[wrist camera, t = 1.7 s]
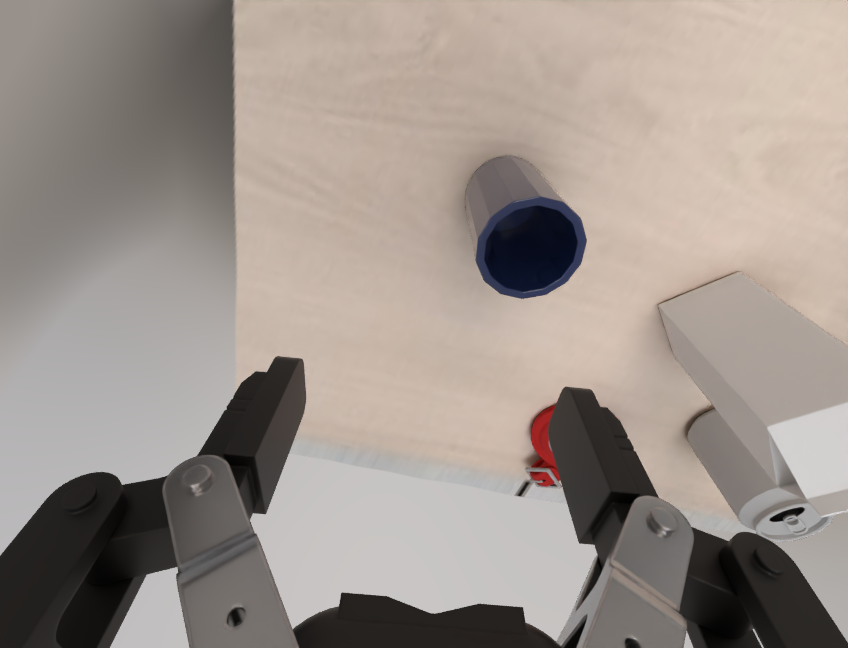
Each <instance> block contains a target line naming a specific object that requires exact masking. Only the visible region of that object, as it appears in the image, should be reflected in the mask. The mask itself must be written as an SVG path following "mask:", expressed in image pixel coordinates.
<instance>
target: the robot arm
mask: <svg viewBox="0 0 848 648" xmlns="http://www.w3.org/2000/svg"><path fill="white" fill-rule="evenodd" d="M305 404H306V388H305V374H304V362H303V360H302V359H299V358H290V357H280V356H277V357H275V359H274V360H273V362H272V364H271V366H270V368H269V369H268V371H267V372H257V371H256V372H255V373H253V374H252V375H251V376H250V377H248V378H247V379H246V380H244V381H243V382H242V383H241V385H240V386H239V388H238V390H237V391H236V393H235V395H234V398H233V399H232V400H231V401H230V403H229V405H228V406H227V410H225V411H224V413H223V414H222V416H221V418H220V419H219V421H218V423H217V424H216V426H215V428H214V429H213V431H212V433H211V434H210V436H209V438H208V439H207V441H206V442H205V444H204V446H203V447H202V449H201V451H200V452H199V454H198V455H197V456H196V457H193V458H191V459H188V460H186V461H184V462H183V463H181V464H180V465H178V466H177V467H176V468H174V469H173V470H172V471H171V472H170V474H169V475H168V476H165V477H162V478H158V479H153V480H147V481H142V482H136V483H131V484H125V485H122V484H121V482H120V480H119V479H118V478H117V477H116V476H115V475H113V474H110V473H105V472H96V473H89V474H86V475H83V476H80V477H78V478H75V479H73V480H71V481H69V482H67V483H65V484H63V485H62V486H61V487H59V488H58V489H57V490H55V491H54V492H53V493H52V494H51V495H50V496H49V497H48V498H47V499H46V501H45V502H44V503H43V504H42V505H41V507H40V508H39V509H38V510H37V511H36V513H35V514H34V515H33V516H32V518H31V519H30V520H29V521H28V523H27V524H26V525H25V526H24V527H23V529H22V530H21V531H20V532H19V534H18V535H17V536H16V537H15V539H14V540H13V541H12V542H11V543H10V545H9V546H8V547H7V548H6V549H5V551H4V552H3V553H2V555H1V556H0V648H110V646H111V644H112V642H113V640H114V638H115V636H116V634H117V632H118V630H119V628H120V626H121V624H122V622H123V620H124V618H125V616H126V614H127V612H128V610H129V608H130V606H131V604H132V602H133V600H134V598H135V596H136V595H137V593H138V591H139V588H140V586H141V584H142V583H143V581H144V578H145V577H146V575H147V574H150V573H154V572H158V571H162V570H166V569H170V568H174V567H178V574H177V576H176V579H177V586H178V592H179V597H180V602H181V606H182V612H183V617H184V622H185V627H186V632H187V637H188V642H189V647H190V648H683V647H684V641H685V636H686V631H687V632H688V634H689V637H690V640H691V642H692V645H693V647H694V648H762V647H761V645H760V643H759V642H758V640H757V638H756V636H755V634H754V632H753V630H752V629H755V631H756V633H757V635H758V637H759V639H760V641H761V643H762V645H763V647H764V648H848V643H847V641H846V640H845V638H844V637H843V635H842V634H841V632H840V631H839V629H838V627H837V626H836V624H835V623H834V621H833V620H832V618H831V617H830V615H829V614H828V612H827V611H826V609H825V608H824V606H823V605H822V603H821V602H820V600H819V599H818V597H817V596H816V594H815V592H814V591H813V589H812V588H811V587H810V585H809V583H808V582H807V580H806V579H805V577H804V576H803V574H802V573H801V571H800V570H799V568H798V567H797V565H796V564H795V563H794V561H793V560H792V559H791V558H790V557H789V556H788V555H787V554H786V553H785V552H784V551H783V550H782V549H781V548H779V547H778V546H777V545H775V544H774V543H773V542H771V541H769V540H768V539H766V538H764V537H762V536H760V535H757V534H754V533H749V532H740V533H738V534H736V535H735V536H734V537H733V538H732V539H731V540H730V541H726V540H724V539H721V538H719V537H716V536H713V535H711V534H708V533H705V532H703V531H700V530H697V529H695V528H693V527H691V526H690V524H689V522H688V521H687V519H686V518H685V517H684V515H683V514H682V513H681V512H680V511H679V510H678V509H676V508H675V507H674V506H673V505H671V504H670V503H668V502H666V501H664V500H662V499H660V498H659V497H658V495H657V493H656V491H655V489H654V487H653V485H652V483H651V481H650V479H649V477H648V475H647V473H646V471H645V469H644V467H643V465H642V463H641V462H640V460H639V458H638V456H637V454H636V452H635V451H634V450H633V449H634V448H633V446H632V444H631V442H630V440H629V439H628V438H627V437H628V436H627V434H626V432H625V430H624V428H623V426H622V424H621V422H620V421H619V420H618V419H617V418H616V417H615V416H614V415H613V413H612V412H611V411H610V410H609V409H608V408H603V407H600V406H599V404H598V401H597V399H596V397H595V395H594V393H593V391H592V390H590V389H583V388H573V387H565V388H563V390H562V392H561V394H560V397H559V399H558V401H557V404H556V406H555V409H554V411H553V414H552V416H551V419H550V421H549V426H548V438H549V442H550V446H551V449H552V453H553V456H554V460H555V463H556V466H557V470H558V473H559V477H560V480H561V483H562V487H563V490H564V494H565V497H566V500H567V504H568V507H569V511H570V514H571V517H572V521H573V524H574V528H575V531H576V534H577V538H578V541H579V543H582V544H593V545H595V548H596V551H597V556H596V558H595V559H594V561H593V563H592V566H591V568H590V571H589V573H588V575H587V577H586V580H585V582H584V584H583V587H582V589H581V591H580V594H579V596H578V598H577V601H576V603H575V606H574V608H573V610H572V613H571V615H570V617H569V619H568V621H567V623H566V625H565V627H564V629H563V630H562V632H561V634H560V636H559V638H558V640H557V642H556V641H554V640H553V639H552V638H551V637H550V636H548V635H547V634H545V633H544V632H542V631H541V630H539V629H537V628H536V627H534V626H532V625H530V624H527V623H525V618H524V611H523V607H511V606H498V605H487V604H477V605H472V606H468V607H464V608H459V609H455V610H451V611H446V612H442V613H437V614H431V613H428V612H425V611H423V610H420V609H417V608H415V607H413V606H410V605H407V604H405V603H402V602H400V601H397V600H395V599H392V598H390V597H387V596H376V595H364V594H352V593H351V594H350V593H341V599H340V604H339V607H334V608H330V609H327V610H325V611H322V612H319V613H318V614H315V615H314V616H312V617H310V618H308V619H306V620H305V621H303V622H302V623H301V624H299V625H298V626H296V627H295V628H294V629H292V627H291V624H290V622H289V619H288V616H287V613H286V611H285V608H284V605H283V603H282V600H281V597H280V595H279V592H278V589H277V587H276V584H275V581H274V578H273V576H272V573H271V570H270V568H269V565H268V562H267V559H266V557H265V554H264V551H263V549H262V546H261V543H260V541H259V539H258V537H257V535H256V534H255V533H254V531H253V528H252V525H251V522H250V518H251V516H252V514H253V513H259V514H266V512H267V509H268V507H269V504H270V502H271V499H272V496H273V494H274V491H275V488H276V486H277V483H278V480H279V478H280V475H281V472H282V470H283V467H284V465H285V462H286V459H287V457H288V454H289V451H290V449H291V446H292V443H293V441H294V438H295V435H296V433H297V430H298V427H299V425H300V422H301V420H302V417H303V414H304V410H305Z"/></svg>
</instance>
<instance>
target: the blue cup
mask: <svg viewBox="0 0 848 648" xmlns="http://www.w3.org/2000/svg"><path fill="white" fill-rule="evenodd" d="M465 209H466V214H467V219H468V224H469V229H470V234H471V239H472V245H473V250H474V255H475V260H476V263H477V266H478V268H479V270H480V273H481V275H482V277H483V280H484V281H485V282H486V283H487V284H489V285H490V286H491V287H492V288H494V289H495V290H496V291H498V292H499V293H500V294H503V295H508V296H512V297H516V298H521V299H522V298H523V299H524V298H530V297H536V296H542V295H545V294H548V293H550V292H551V291H553V290H555V289H556V288H558V287H560V286H561V285H563V284H565V283H566V282H567V281H568V280H569V278H570V277H571V276H572V275H573V273H574V272H575V271H576V270H577V268H578V267H579V266H580V264H581V262H582V258H583V254H584V250H585V246H586V242H587V239H586V235H585V232H584V228H583V224H582V220H581V218H580V217H579V216H578V215H577V213H576V212H575V211H574V210H573V209H572V208H571V207H570V206H569V205H568V204H567V202H566V201H565V200H564V199H563V198H562V197H561V196H560V195H559V194H558V193H557V191H556V190H555V189H554V188H553V187H552V186H551V185H550V184H549V183H548V182H547V180H546V179H545V178H544V177H543V176H542V175H541V174H540V173H539V172H538V171H537V170H536V169H535V168H534V167H533V166H532V165H531V164H530V163H529V162H528V161H525V160H523V159H521V158H518V157H513V156H502V157H498V158H494V159H492V160H489V161H488V162H486V163H484V164H483V165H482V166H480V167H479V168H478V169H477V170H476V172H475V173H474V174H473V175H472V177H471V179H470V181H469V183H468V185H467V188H466V193H465Z"/></svg>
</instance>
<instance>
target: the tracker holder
mask: <svg viewBox="0 0 848 648" xmlns="http://www.w3.org/2000/svg"><path fill="white" fill-rule="evenodd" d="M555 406H556V405H555ZM555 406H552V407H549V408H547V409H545V410H544V411H542V412H541V413H540V414H539V415H538V416H537V417H536V419H535V421H534V423H533V425H532V430H531V441H532V445H533V447H534V449H535V451H536V452H537V454H538V455H539V456H540V457H541V458H540V459H539V460H538V461H536V462H535V463H534V464H533V465H532V467H531V468H528V467H527V468H526V469H525V470H526V472H527V473H528V475H529V476H530V477H531V479H530V481H531V482H534V483H535V484H536V486H537V487H546V488H561V487H562V486H561V484H560V483H559V480H560V477H559V473H558V470H557V466H556V463H555V460H554V456H553V453H552V449H551V446H550V442H549V438H548V426H549V421H550V419H551V416H552V414H553V411H554V409H555ZM554 483H555V484H554Z"/></svg>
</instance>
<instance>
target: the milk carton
mask: <svg viewBox="0 0 848 648" xmlns="http://www.w3.org/2000/svg"><path fill="white" fill-rule="evenodd" d="M658 307H659V310H660V314H661V317H662V320H663V323H664V326H665V329H666V333H667V336H668V339H669V342H670V345H671V348H672V352H673V355H674V357H675V359H676V360H677V361H678V362H679V364H680V365H681V366H682V367H683V369H684V370H685V371H686V372H687V374H688V375H689V376H690V377H691V379H692V380H693V381H694V383H695V384H696V385H697V386H698V388H699V389H700V390H701V391H702V393H703V394H704V395H705V396H706V398H707V399H708V400H709V401H710V403H711V404H712V405H713V406H714V408H715V409H716V410H717V411H718V413H719V414H720V415H721V416H722V418H723V419H724V420H725V421H726V423H727V424H728V425H729V426H730V428H731V429H732V430H733V431H734V433H735V434H736V435H737V436H738V438H739V439H740V440H741V441H742V443H743V444H744V445H745V446H746V448H747V449H748V450H749V451H750V453H751V454H752V455H753V456H754V458H755V459H756V460H757V461H758V463H759V464H760V465H761V466H762V468H763V469H764V470H765V471H766V473H767V474H768V475H769V476H770V478H771V479H772V480H773V481H774V483H775V484H776V485H777V487H778V488H780V489H782V490H785V491H787V492H789V493H791V494H793V495H796V496H798V497H800V498H802V499H804V500H806V501H808V503H809V504H810V505H811V506H812V507H813V509H814V510H815V511H816V512H817V513H818V514H819V516H820V517H827V516H831V515H835V514H840V513H844V512H848V346H847V345H845V344H844V343H843V342H841V341H840V340H838V339H837V338H835V337H834V336H833V335H831V334H830V333H828V332H827V331H825V330H824V329H823V328H821V327H820V326H818V325H817V324H815V323H814V322H813V321H811V320H810V319H808V318H807V317H805V316H804V315H803V314H801V313H800V312H798V311H797V310H795V309H794V308H793V307H791V306H790V305H788V304H787V303H785V302H784V301H783V300H781V299H780V298H778V297H777V296H775V295H774V294H773V293H771V292H770V291H768V290H767V289H765V288H764V287H763V286H761V285H760V284H758V283H757V282H755V281H754V280H753V279H751V278H750V277H748V276H747V275H745V274H744V273H742V272H737V273H734V274H731V275H729V276H727V277H724V278H722V279H719V280H717V281H714V282H712V283H710V284H707V285H705V286H702V287H700V288H697V289H695V290H693V291H690V292H688V293H685V294H683V295H680V296H678V297H676V298H673V299H671V300H668V301H666V302H664V303H661V304H659V305H658Z"/></svg>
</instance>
